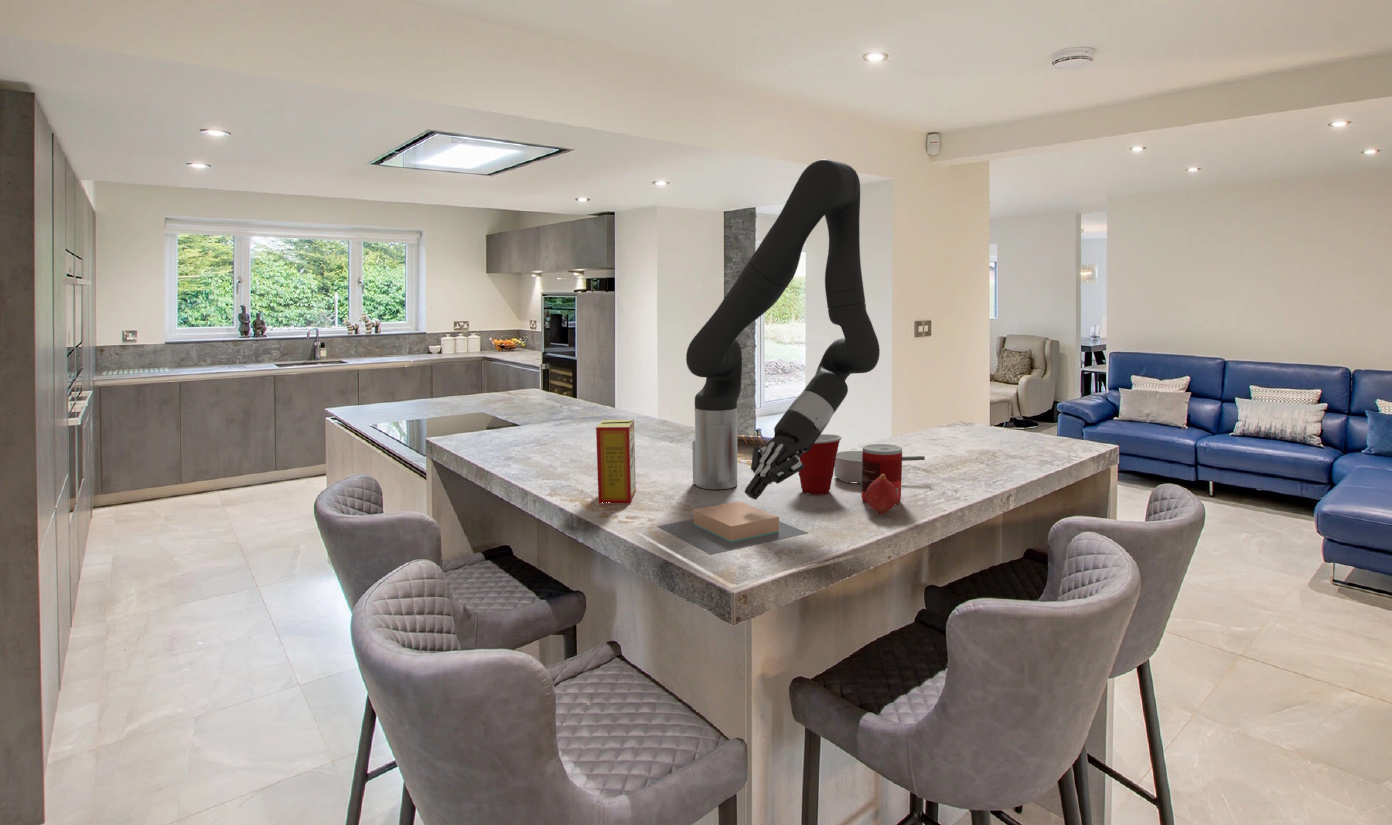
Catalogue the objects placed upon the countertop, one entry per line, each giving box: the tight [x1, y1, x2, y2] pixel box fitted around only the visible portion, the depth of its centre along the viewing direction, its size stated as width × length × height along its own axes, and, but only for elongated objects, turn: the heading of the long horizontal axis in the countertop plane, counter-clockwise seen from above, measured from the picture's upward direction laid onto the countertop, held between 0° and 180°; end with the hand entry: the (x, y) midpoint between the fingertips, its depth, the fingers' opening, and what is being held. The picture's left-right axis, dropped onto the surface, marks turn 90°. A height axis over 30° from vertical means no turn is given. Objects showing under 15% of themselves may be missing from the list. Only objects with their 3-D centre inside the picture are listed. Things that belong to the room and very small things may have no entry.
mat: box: [656, 518, 809, 556], centre depth 132 cm, size 18×20×1 cm
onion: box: [865, 474, 898, 516], centre depth 140 cm, size 6×6×8 cm
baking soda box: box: [595, 419, 637, 504], centre depth 155 cm, size 10×6×16 cm
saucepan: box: [833, 449, 926, 484], centre depth 168 cm, size 12×20×6 cm, turn 81°
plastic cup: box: [797, 433, 842, 496], centre depth 158 cm, size 11×11×12 cm
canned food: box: [861, 443, 903, 505], centre depth 150 cm, size 8×8×11 cm
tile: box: [692, 500, 780, 543], centre depth 132 cm, size 12×3×10 cm
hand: (749, 496), depth 133 cm, fingers closed
